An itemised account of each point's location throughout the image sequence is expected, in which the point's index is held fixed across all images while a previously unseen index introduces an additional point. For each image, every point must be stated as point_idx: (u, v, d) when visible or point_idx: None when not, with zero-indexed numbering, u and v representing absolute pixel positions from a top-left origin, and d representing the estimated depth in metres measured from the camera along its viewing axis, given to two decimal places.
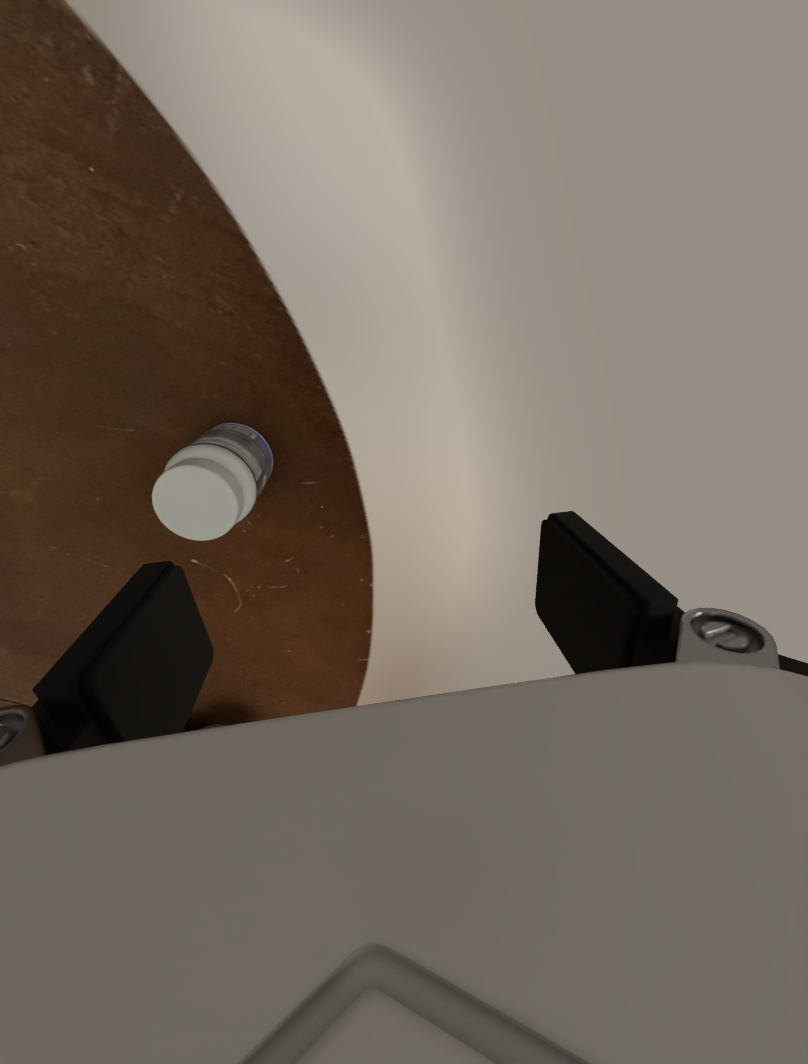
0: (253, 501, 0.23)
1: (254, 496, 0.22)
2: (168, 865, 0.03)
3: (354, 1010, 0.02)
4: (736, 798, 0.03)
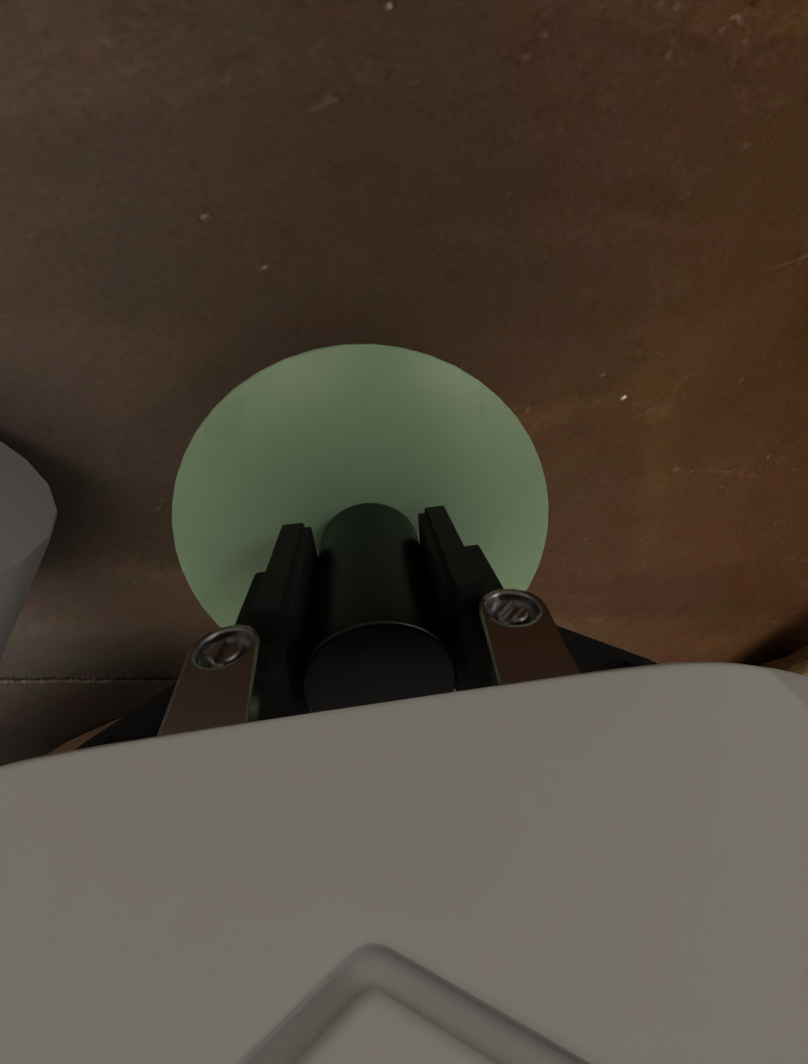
0: None
1: None
2: (168, 865, 0.03)
3: (354, 1010, 0.02)
4: (737, 798, 0.03)
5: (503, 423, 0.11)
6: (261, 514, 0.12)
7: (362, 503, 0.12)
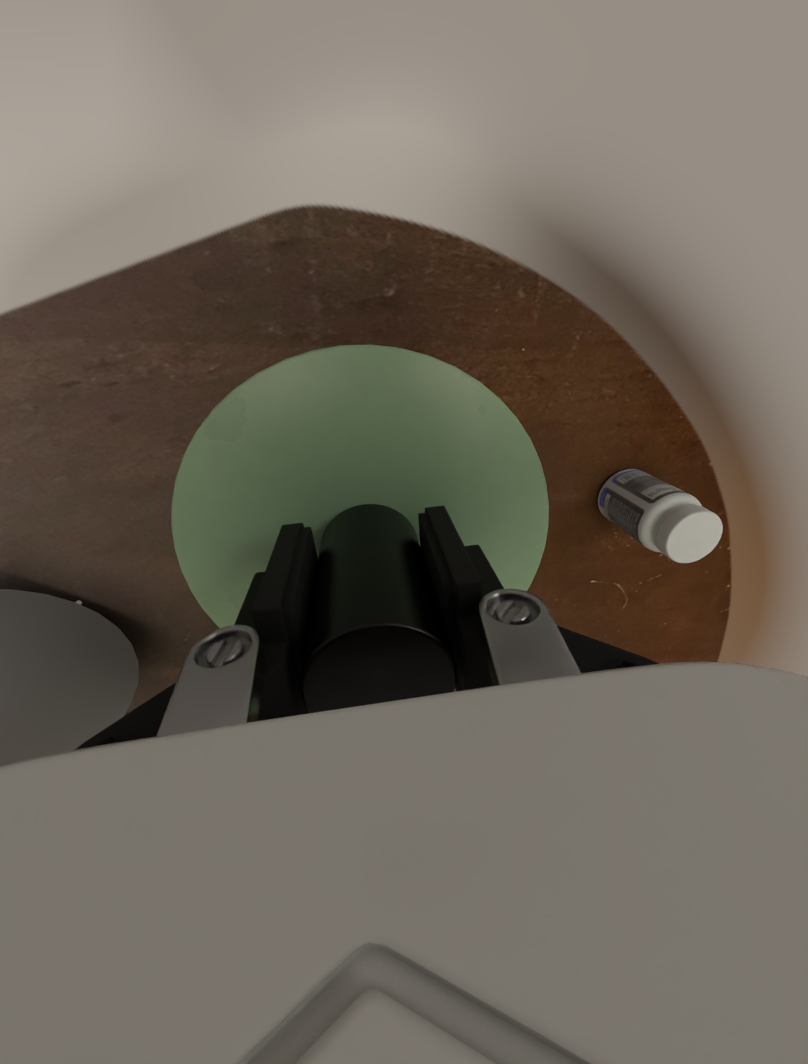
0: None
1: None
2: (169, 864, 0.03)
3: (354, 1010, 0.02)
4: (736, 798, 0.03)
5: (503, 424, 0.11)
6: (261, 515, 0.12)
7: (362, 504, 0.12)
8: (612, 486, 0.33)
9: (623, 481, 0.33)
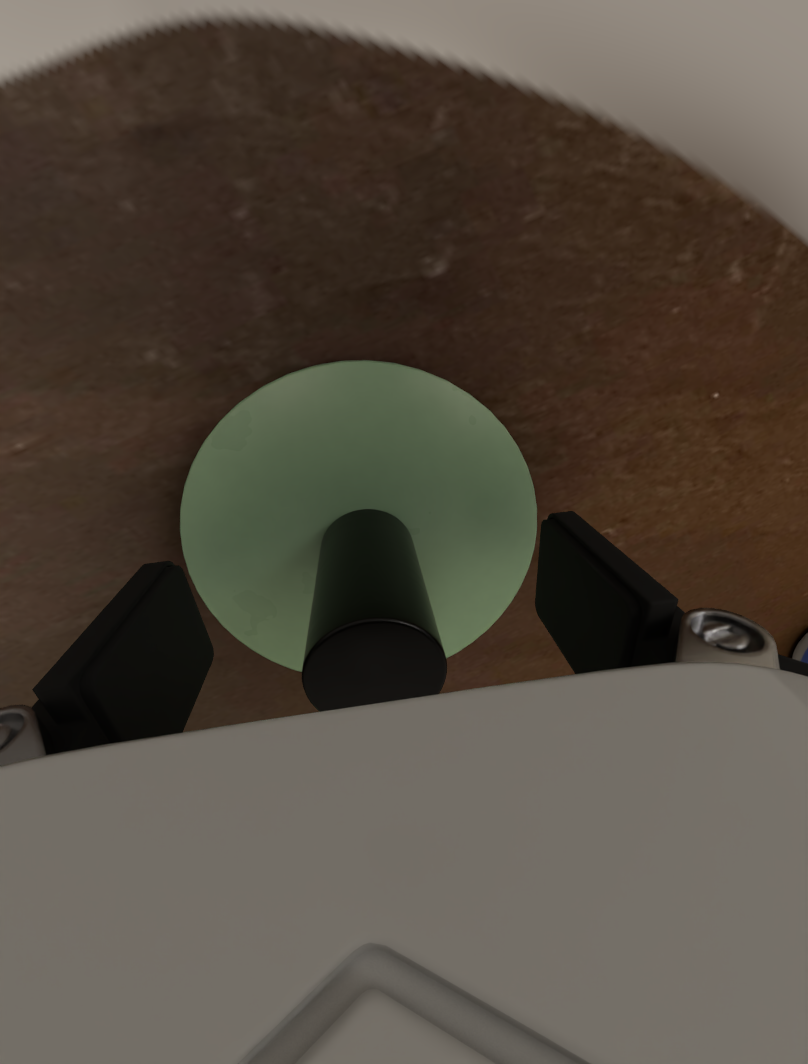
0: None
1: None
2: (168, 864, 0.03)
3: (354, 1010, 0.02)
4: (736, 798, 0.03)
5: (492, 433, 0.12)
6: (264, 520, 0.12)
7: (360, 509, 0.13)
8: None
9: None
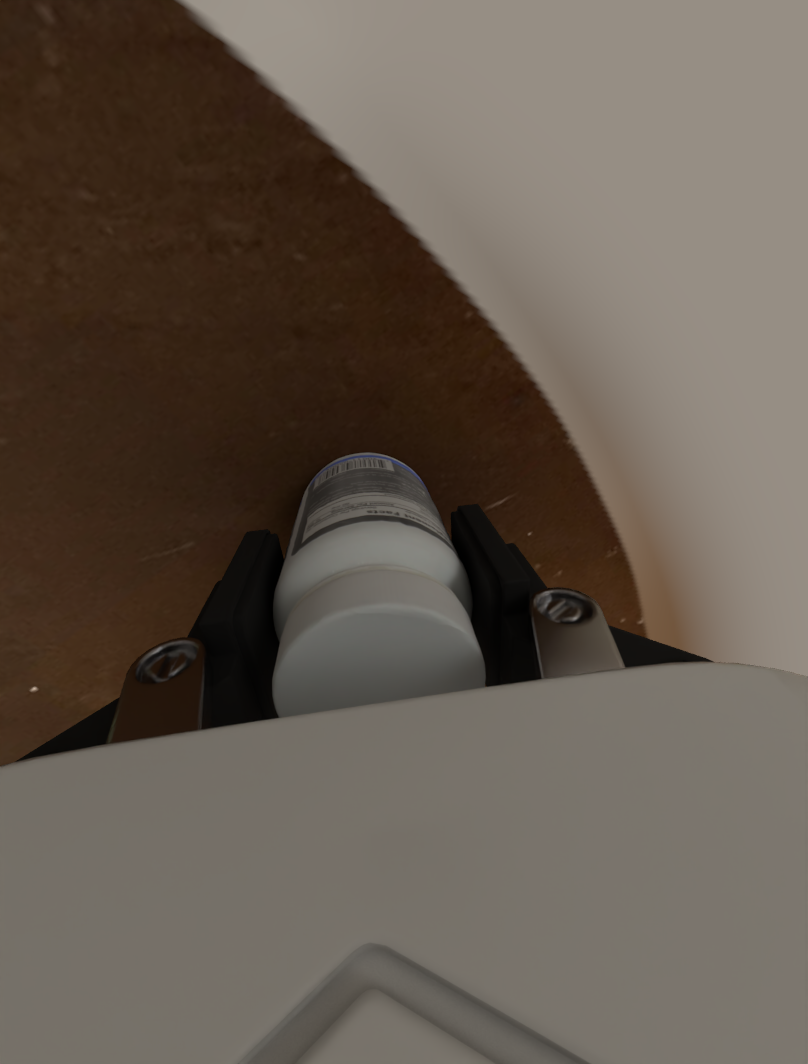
0: (472, 603, 0.10)
1: (471, 593, 0.10)
2: (168, 865, 0.03)
3: (354, 1010, 0.02)
4: (736, 798, 0.03)
5: None
6: None
7: None
8: (305, 496, 0.13)
9: (318, 483, 0.12)
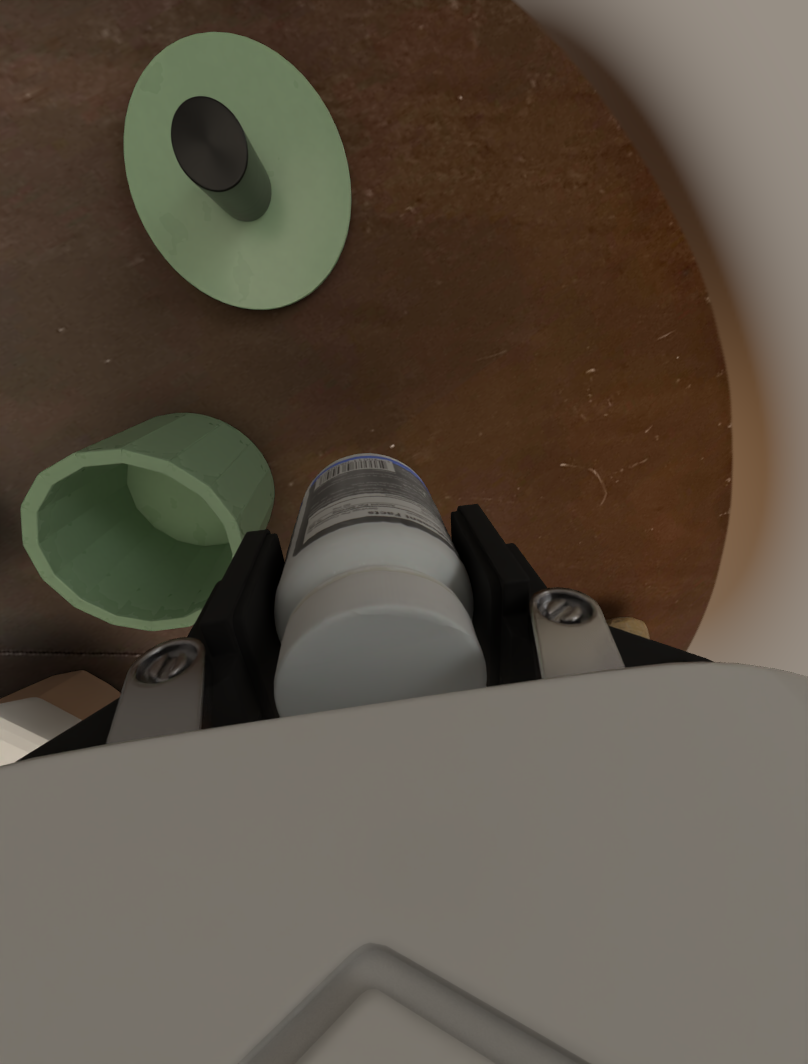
0: (473, 604, 0.10)
1: (472, 594, 0.10)
2: (168, 865, 0.03)
3: (354, 1010, 0.02)
4: (736, 798, 0.03)
5: (310, 97, 0.20)
6: None
7: None
8: (305, 497, 0.13)
9: (319, 484, 0.12)
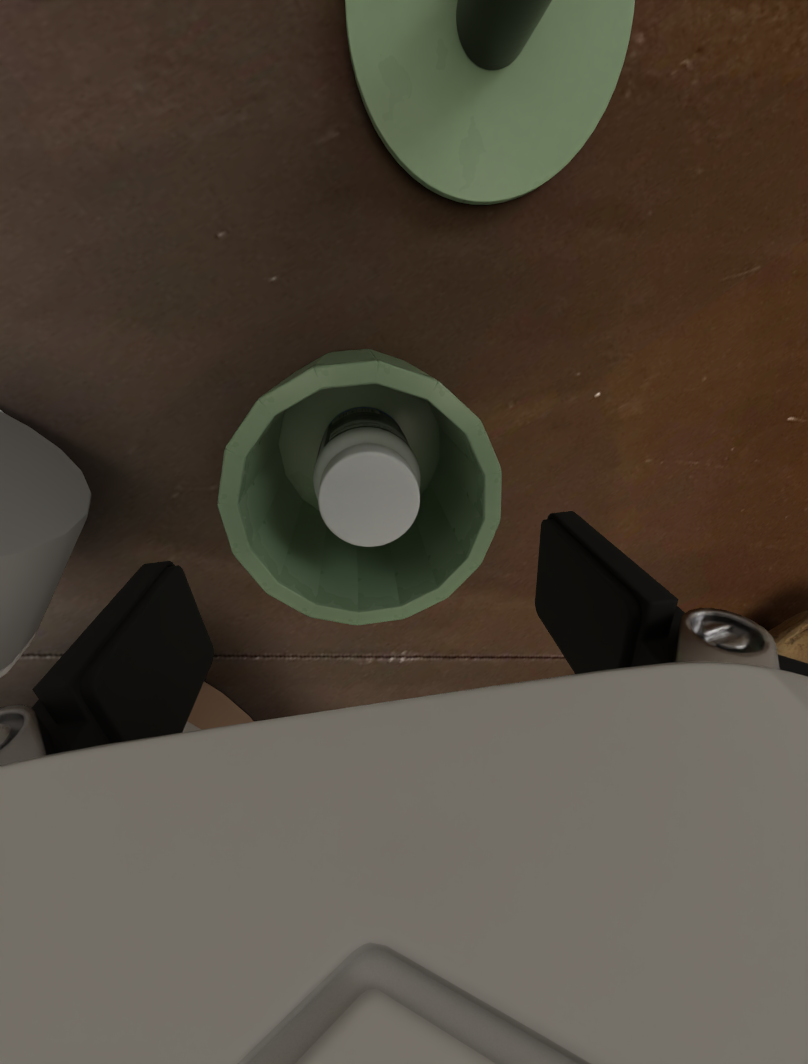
0: (419, 477, 0.18)
1: (419, 470, 0.18)
2: (168, 865, 0.03)
3: (354, 1010, 0.02)
4: (736, 798, 0.03)
5: None
6: None
7: None
8: (325, 431, 0.21)
9: (334, 422, 0.21)
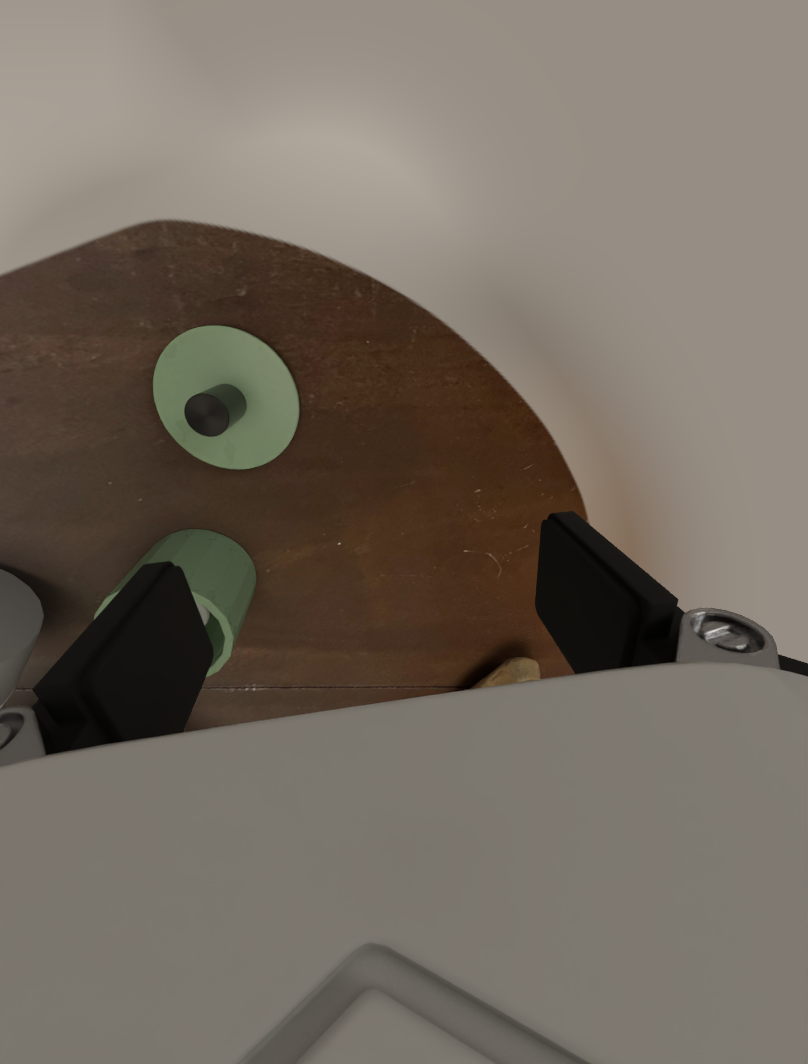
0: (207, 609, 0.36)
1: None
2: (168, 864, 0.03)
3: (354, 1010, 0.02)
4: (736, 798, 0.03)
5: (269, 354, 0.32)
6: (185, 387, 0.33)
7: (222, 384, 0.33)
8: None
9: None
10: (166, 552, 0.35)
